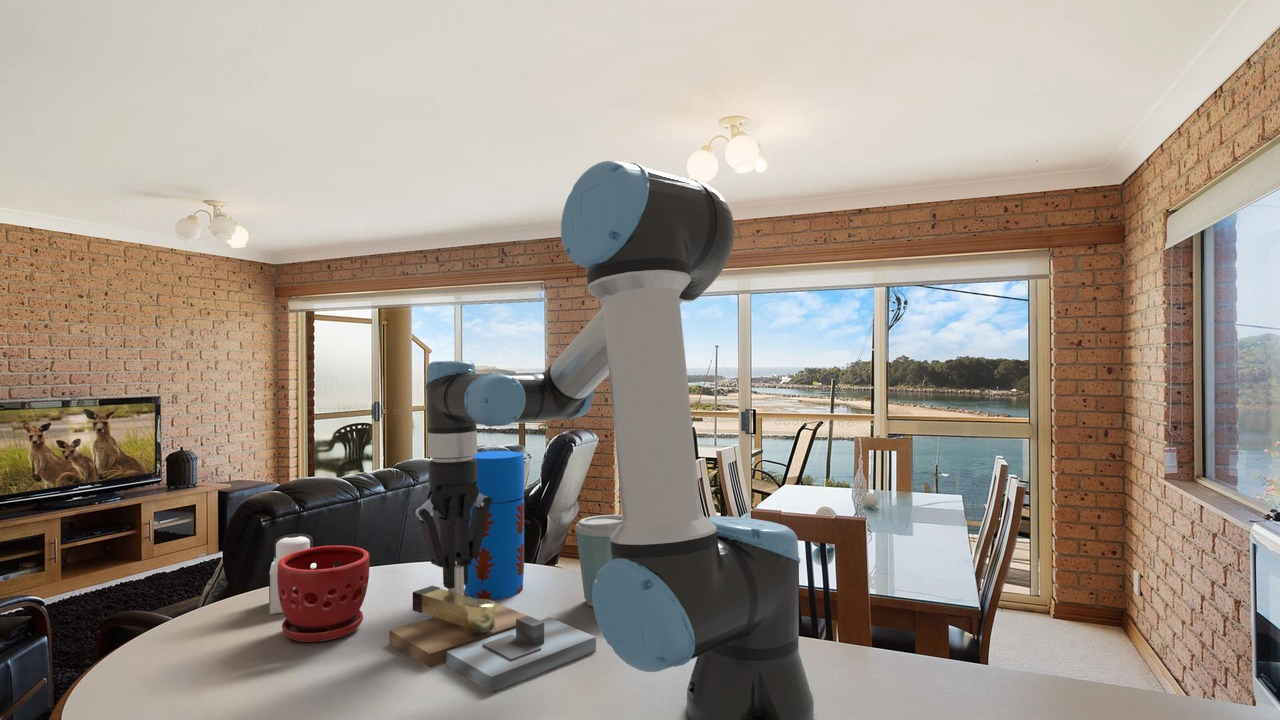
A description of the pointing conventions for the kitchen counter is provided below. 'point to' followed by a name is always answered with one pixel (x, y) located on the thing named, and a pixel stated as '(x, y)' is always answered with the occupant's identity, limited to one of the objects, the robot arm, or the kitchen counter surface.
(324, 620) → the plant pot
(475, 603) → the swing bar
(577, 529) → the disposable coffee cup
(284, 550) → the medicine bottle
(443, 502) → the robot arm
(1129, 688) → the kitchen counter surface
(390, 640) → the door and jamb
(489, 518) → the thermos
